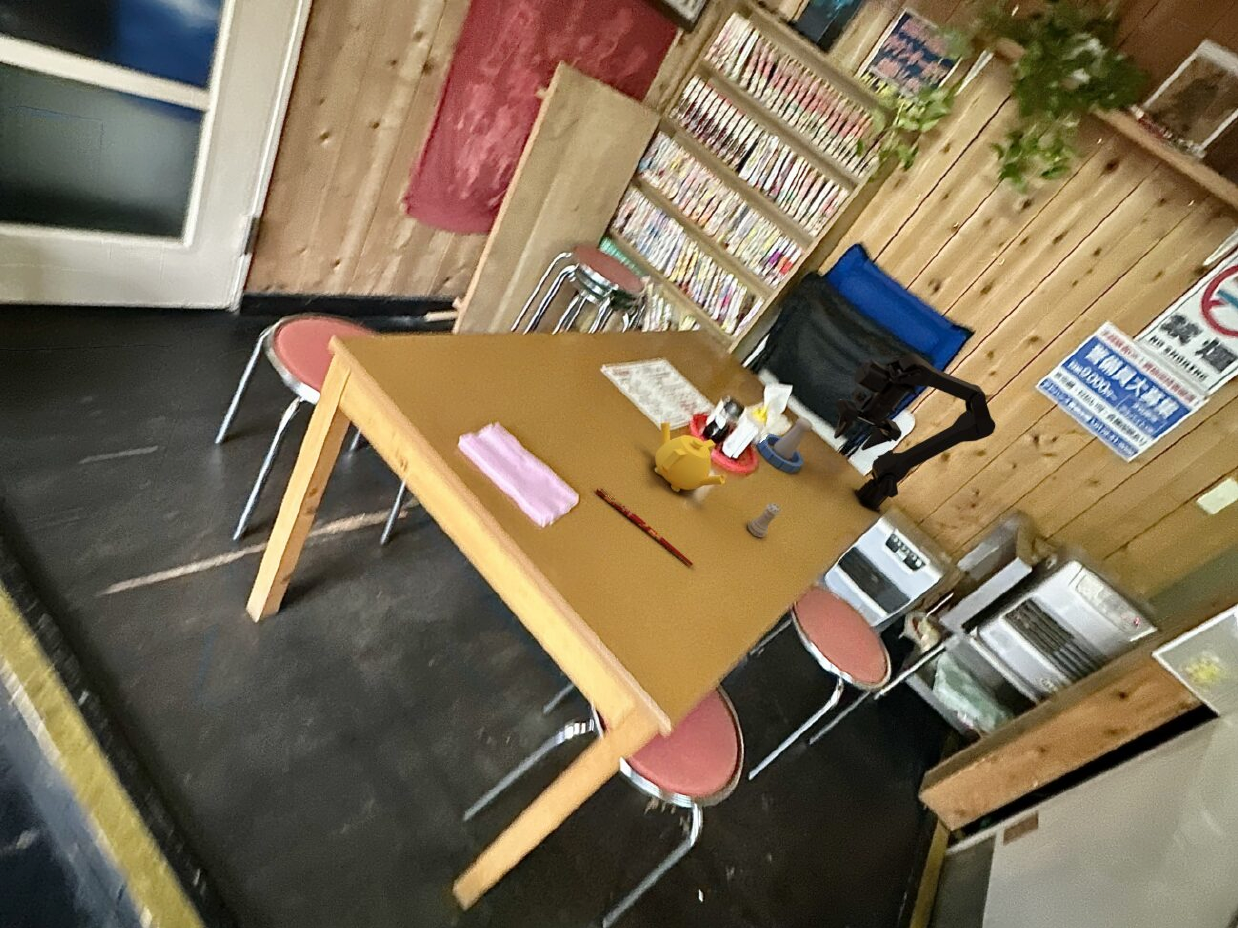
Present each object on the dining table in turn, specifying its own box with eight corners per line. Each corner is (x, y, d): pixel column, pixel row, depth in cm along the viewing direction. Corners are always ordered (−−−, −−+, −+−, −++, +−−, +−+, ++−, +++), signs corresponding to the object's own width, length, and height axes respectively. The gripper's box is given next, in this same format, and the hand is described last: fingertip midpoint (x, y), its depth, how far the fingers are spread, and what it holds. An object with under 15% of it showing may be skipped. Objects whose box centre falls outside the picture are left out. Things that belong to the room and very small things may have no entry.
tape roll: (791, 450, 210) (796, 443, 208) (803, 478, 200) (808, 472, 198) (753, 434, 205) (758, 427, 204) (763, 463, 195) (769, 456, 194)
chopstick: (690, 568, 145) (692, 564, 145) (595, 491, 149) (597, 488, 149) (693, 563, 147) (696, 560, 146) (599, 488, 151) (601, 485, 150)
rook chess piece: (753, 538, 165) (774, 513, 161) (743, 523, 168) (763, 498, 163) (767, 538, 168) (787, 514, 164) (756, 523, 170) (776, 499, 166)
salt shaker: (781, 465, 199) (810, 429, 192) (766, 451, 201) (794, 414, 195) (791, 462, 204) (819, 426, 197) (776, 448, 206) (804, 412, 199)
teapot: (724, 499, 171) (751, 464, 166) (682, 517, 158) (710, 480, 152) (666, 442, 179) (689, 406, 173) (621, 454, 165) (645, 416, 159)
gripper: (902, 394, 199) (865, 437, 207) (848, 369, 193) (812, 414, 201) (918, 418, 190) (879, 462, 198) (862, 392, 184) (823, 438, 192)
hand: (848, 443), depth 198 cm, fingers open, 9 cm apart
